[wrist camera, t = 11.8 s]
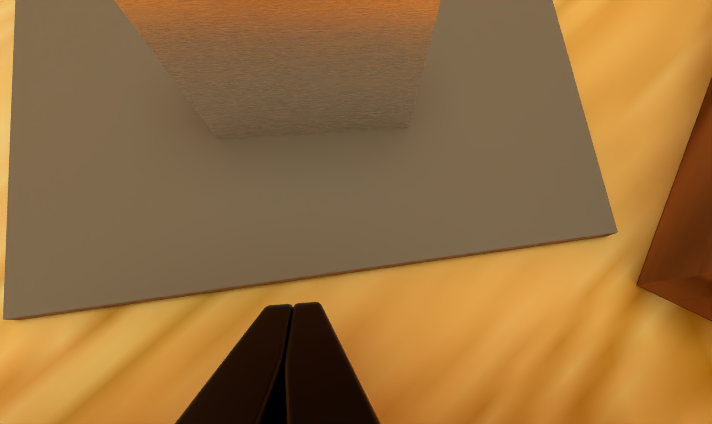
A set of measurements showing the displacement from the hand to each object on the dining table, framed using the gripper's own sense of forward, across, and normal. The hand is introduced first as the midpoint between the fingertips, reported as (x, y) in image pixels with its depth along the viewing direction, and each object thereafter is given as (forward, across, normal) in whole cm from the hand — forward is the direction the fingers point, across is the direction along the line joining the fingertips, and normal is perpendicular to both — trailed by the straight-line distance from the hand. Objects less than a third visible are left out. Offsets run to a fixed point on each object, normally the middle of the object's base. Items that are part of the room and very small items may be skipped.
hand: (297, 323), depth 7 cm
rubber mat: (+12, +1, -3) cm, 12 cm away
